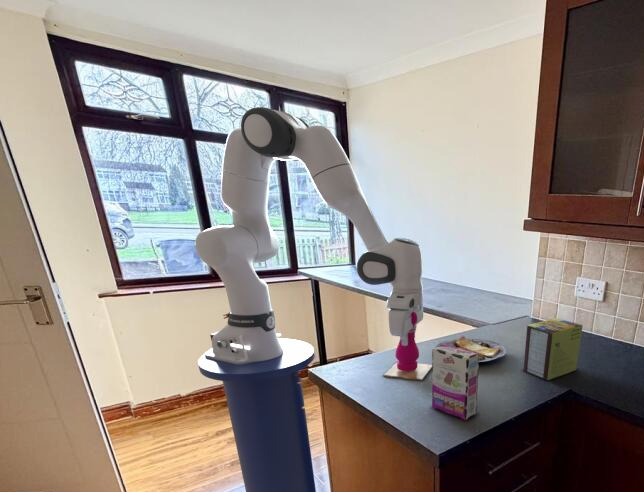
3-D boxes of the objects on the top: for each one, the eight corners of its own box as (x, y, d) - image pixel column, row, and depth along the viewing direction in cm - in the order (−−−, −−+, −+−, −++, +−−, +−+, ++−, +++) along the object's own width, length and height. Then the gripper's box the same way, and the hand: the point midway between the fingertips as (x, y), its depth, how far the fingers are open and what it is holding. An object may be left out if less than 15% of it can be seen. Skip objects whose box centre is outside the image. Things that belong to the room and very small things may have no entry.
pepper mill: (405, 361, 131) (405, 300, 123) (423, 366, 128) (424, 304, 120) (390, 368, 125) (389, 304, 117) (408, 374, 122) (408, 309, 114)
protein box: (577, 370, 134) (583, 324, 128) (547, 381, 124) (552, 332, 118) (552, 360, 141) (557, 317, 135) (522, 370, 131) (526, 324, 125)
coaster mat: (383, 376, 122) (383, 374, 122) (397, 362, 133) (397, 361, 133) (422, 380, 120) (422, 379, 120) (433, 366, 131) (433, 364, 131)
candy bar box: (477, 413, 103) (480, 353, 97) (465, 421, 99) (468, 358, 93) (443, 401, 109) (444, 343, 102) (431, 407, 105) (431, 347, 99)
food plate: (421, 353, 142) (421, 343, 141) (467, 339, 159) (467, 331, 157) (473, 373, 127) (473, 363, 126) (518, 356, 143) (519, 347, 142)
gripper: (408, 289, 128) (409, 331, 133) (383, 303, 109) (386, 351, 114) (428, 291, 127) (428, 333, 132) (406, 305, 108) (407, 353, 113)
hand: (408, 342), depth 123 cm, fingers closed on pepper mill, 4 cm apart
